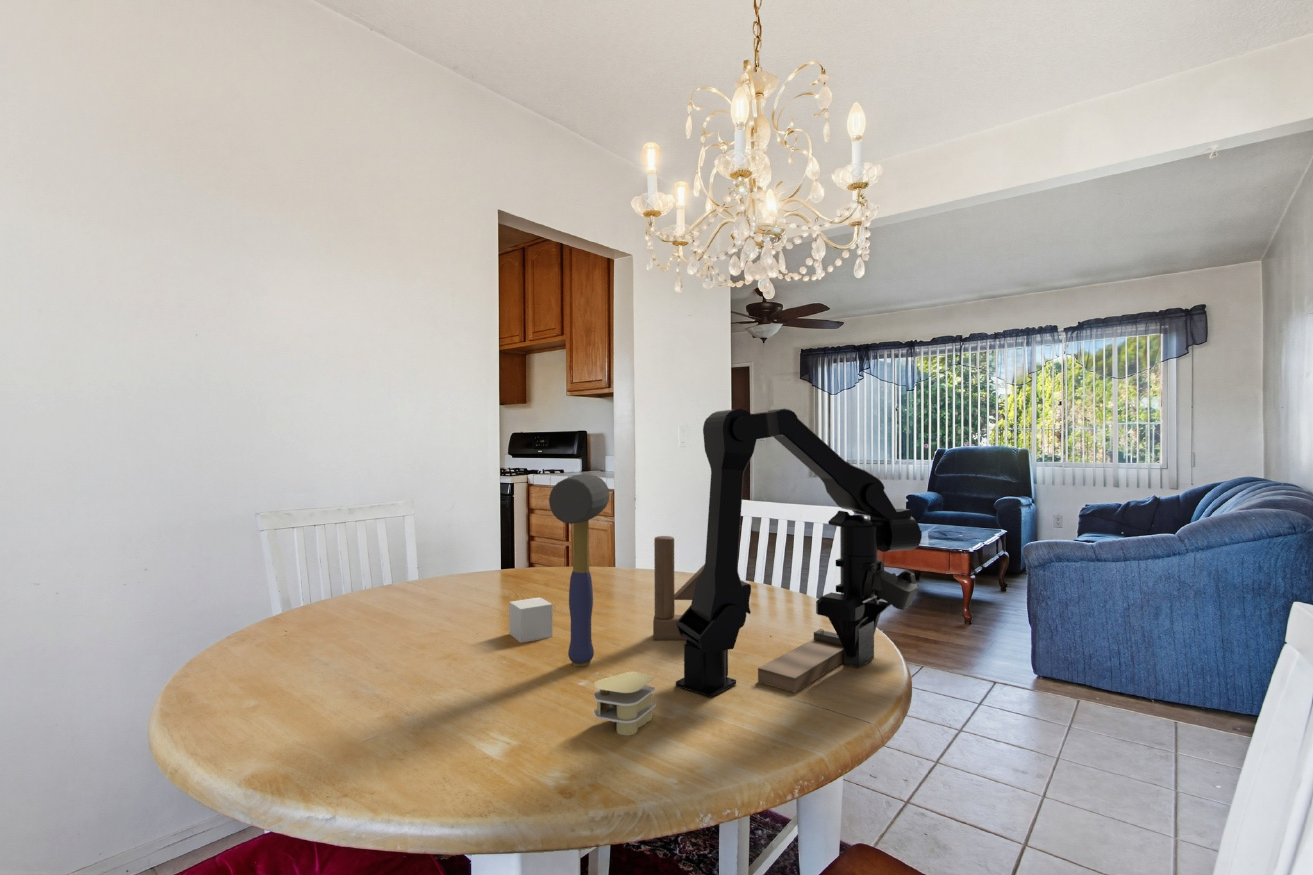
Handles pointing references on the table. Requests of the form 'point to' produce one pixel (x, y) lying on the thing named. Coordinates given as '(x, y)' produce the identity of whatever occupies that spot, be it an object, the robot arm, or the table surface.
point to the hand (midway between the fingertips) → (859, 651)
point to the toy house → (625, 701)
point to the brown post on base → (668, 590)
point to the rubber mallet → (580, 553)
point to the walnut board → (801, 665)
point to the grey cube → (530, 619)
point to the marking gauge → (863, 643)
